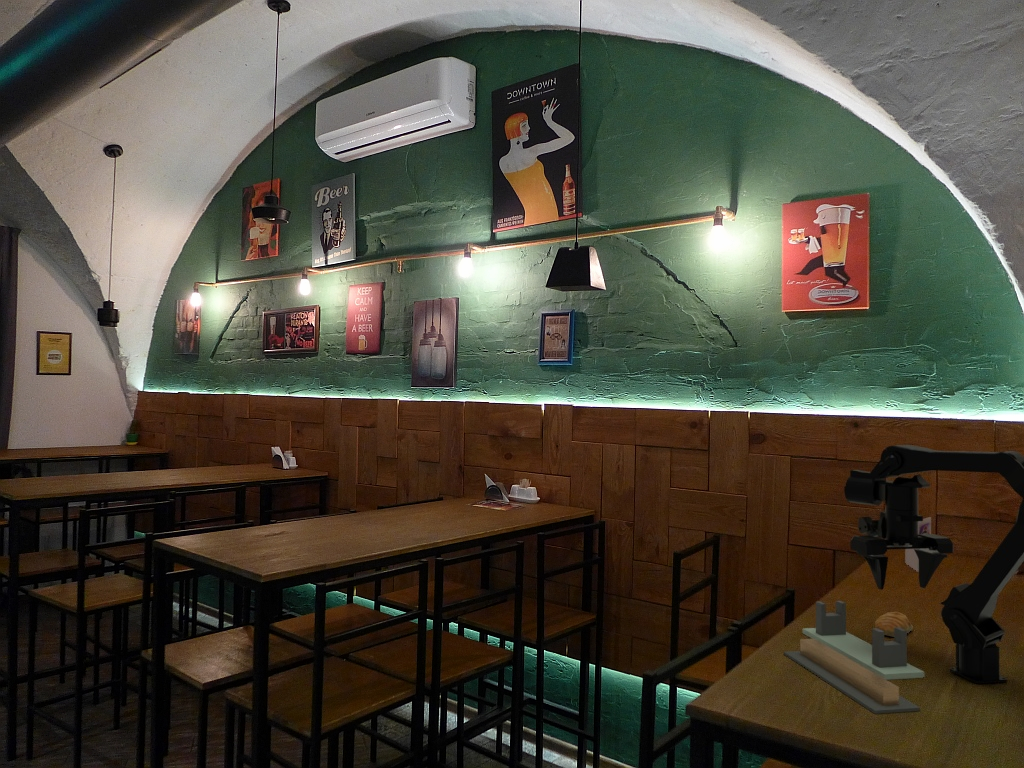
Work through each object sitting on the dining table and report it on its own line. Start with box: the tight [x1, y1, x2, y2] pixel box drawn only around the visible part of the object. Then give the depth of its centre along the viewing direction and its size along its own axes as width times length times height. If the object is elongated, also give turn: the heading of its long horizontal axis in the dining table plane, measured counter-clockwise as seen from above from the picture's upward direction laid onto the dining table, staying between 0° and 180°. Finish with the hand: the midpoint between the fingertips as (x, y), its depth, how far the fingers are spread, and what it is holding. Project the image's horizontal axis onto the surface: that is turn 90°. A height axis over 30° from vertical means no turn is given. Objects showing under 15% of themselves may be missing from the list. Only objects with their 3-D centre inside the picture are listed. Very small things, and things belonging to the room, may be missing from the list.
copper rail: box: [799, 638, 900, 706], centre depth 128 cm, size 24×3×3 cm, turn 9°
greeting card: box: [904, 516, 932, 573], centre depth 218 cm, size 11×7×15 cm, turn 132°
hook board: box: [802, 600, 925, 681], centre depth 142 cm, size 26×8×8 cm, turn 9°
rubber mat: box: [783, 650, 921, 715], centre depth 128 cm, size 27×8×1 cm, turn 9°
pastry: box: [874, 611, 914, 638], centre depth 156 cm, size 9×7×4 cm
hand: (901, 588), depth 142 cm, fingers open, 9 cm apart
